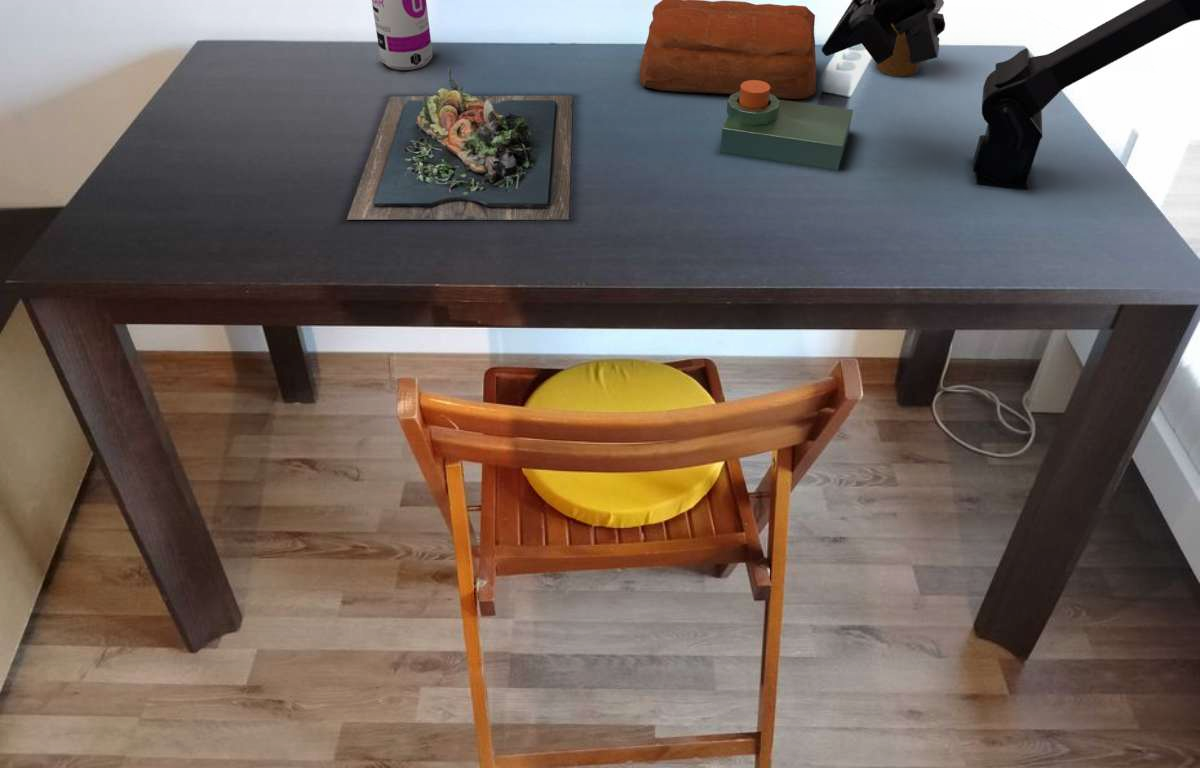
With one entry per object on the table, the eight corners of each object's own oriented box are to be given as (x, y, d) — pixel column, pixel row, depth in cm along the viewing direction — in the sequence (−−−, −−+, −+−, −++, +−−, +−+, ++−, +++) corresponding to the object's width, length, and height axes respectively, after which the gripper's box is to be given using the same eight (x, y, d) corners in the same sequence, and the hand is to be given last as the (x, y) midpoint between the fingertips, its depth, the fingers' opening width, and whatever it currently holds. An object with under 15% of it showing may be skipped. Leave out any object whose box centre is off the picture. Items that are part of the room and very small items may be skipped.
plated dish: (385, 96, 147) (379, 49, 142) (573, 97, 147) (572, 50, 142) (346, 225, 121) (336, 172, 116) (574, 225, 121) (574, 172, 117)
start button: (770, 99, 134) (772, 82, 133) (765, 112, 132) (767, 94, 130) (742, 95, 135) (743, 78, 134) (736, 108, 133) (737, 90, 131)
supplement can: (443, 57, 157) (433, -39, 147) (409, 76, 152) (396, -23, 142) (404, 46, 160) (391, -49, 151) (370, 64, 155) (354, -33, 145)
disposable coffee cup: (855, 60, 156) (868, -17, 148) (907, 53, 159) (924, -23, 151) (885, 84, 150) (901, 6, 142) (939, 76, 152) (958, -2, 144)
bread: (815, 105, 144) (826, 35, 137) (635, 93, 147) (637, 23, 140) (814, 62, 156) (824, -5, 149) (647, 52, 159) (650, -15, 152)
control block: (848, 133, 138) (855, 97, 134) (838, 171, 130) (844, 133, 126) (733, 117, 142) (737, 81, 138) (716, 152, 134) (720, 115, 130)
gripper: (965, 57, 112) (851, 131, 122) (972, 0, 125) (868, 71, 135) (909, -21, 109) (797, 62, 118) (922, -71, 122) (820, 7, 132)
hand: (823, 52), depth 126 cm, fingers closed
